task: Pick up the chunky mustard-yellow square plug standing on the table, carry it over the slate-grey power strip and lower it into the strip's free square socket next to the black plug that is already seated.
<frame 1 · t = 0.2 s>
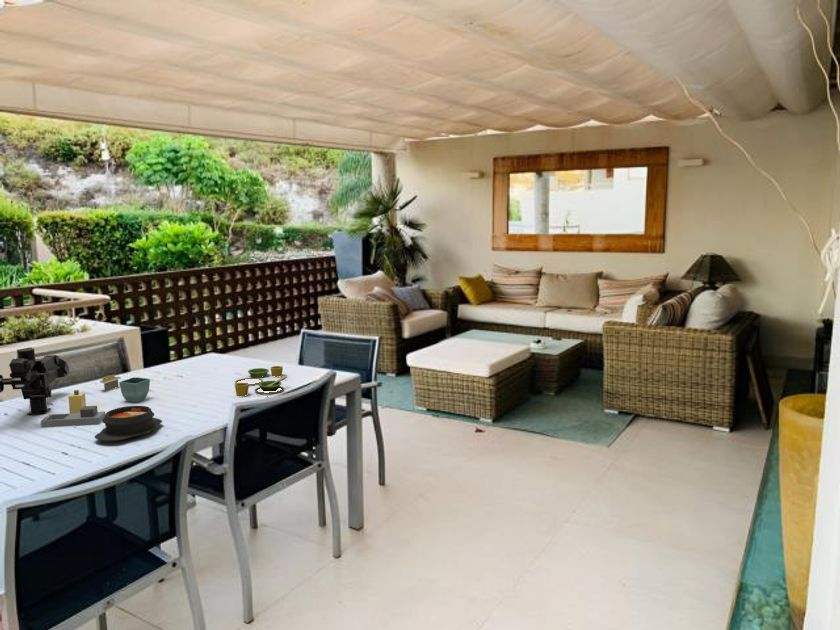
hand: (8, 389, 221), 16 cm above the table, tool horizontal, fingers open, 9 cm apart
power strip: (74, 422, 236), on the table
flower pot: (136, 401, 264), on the table
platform: (110, 390, 282), on the table
plug: (78, 413, 246), on the table
casserole: (130, 434, 224), on the table
tableware set: (261, 386, 289), on the table
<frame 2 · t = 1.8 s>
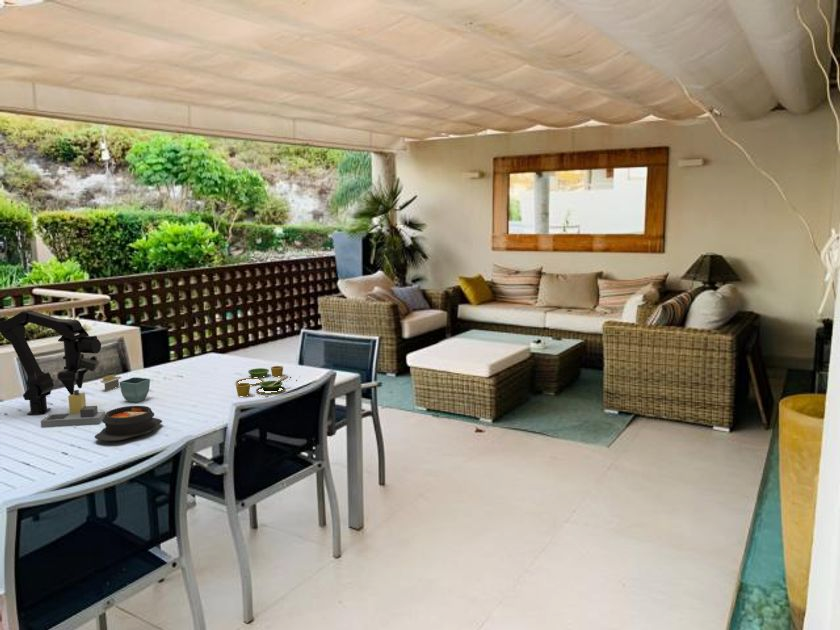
hand: (76, 391, 245), 9 cm above the table, tool pointing down, fingers open, 9 cm apart
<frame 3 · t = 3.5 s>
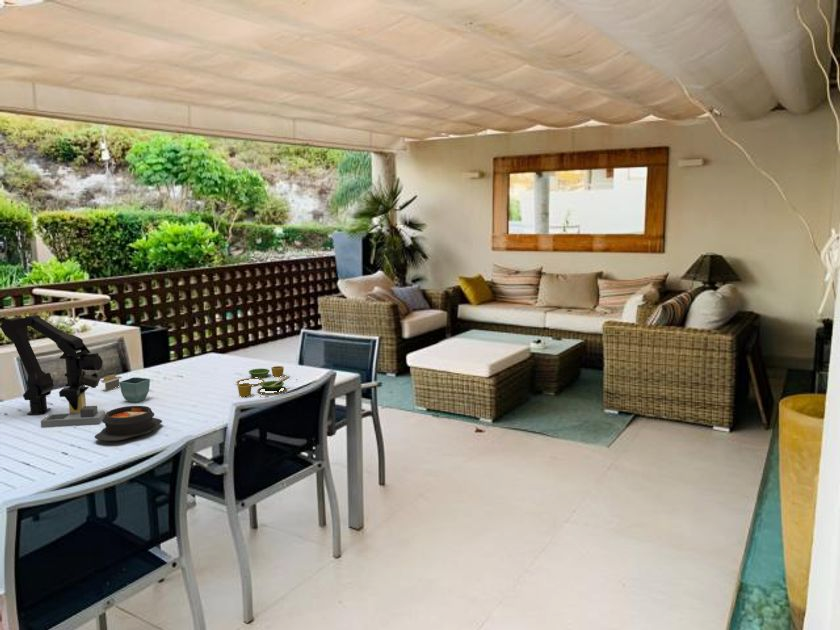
hand: (77, 407, 246), 2 cm above the table, tool pointing down, fingers closed on plug, 5 cm apart
plug: (78, 413, 246), on the table, touching gripper
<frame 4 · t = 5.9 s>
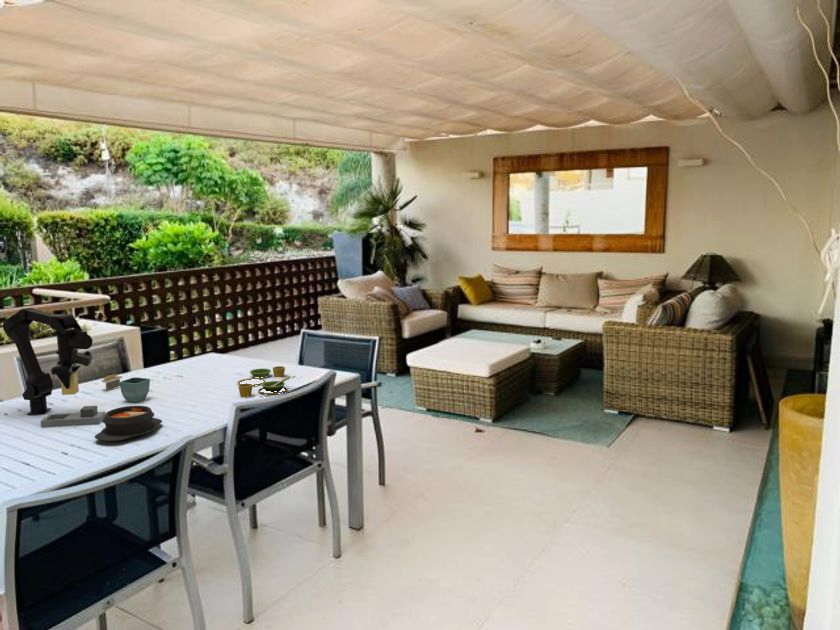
hand: (69, 386, 241), 12 cm above the table, tool pointing down, fingers closed on plug, 5 cm apart
plug: (70, 392, 241), point 10 cm above the table, touching gripper
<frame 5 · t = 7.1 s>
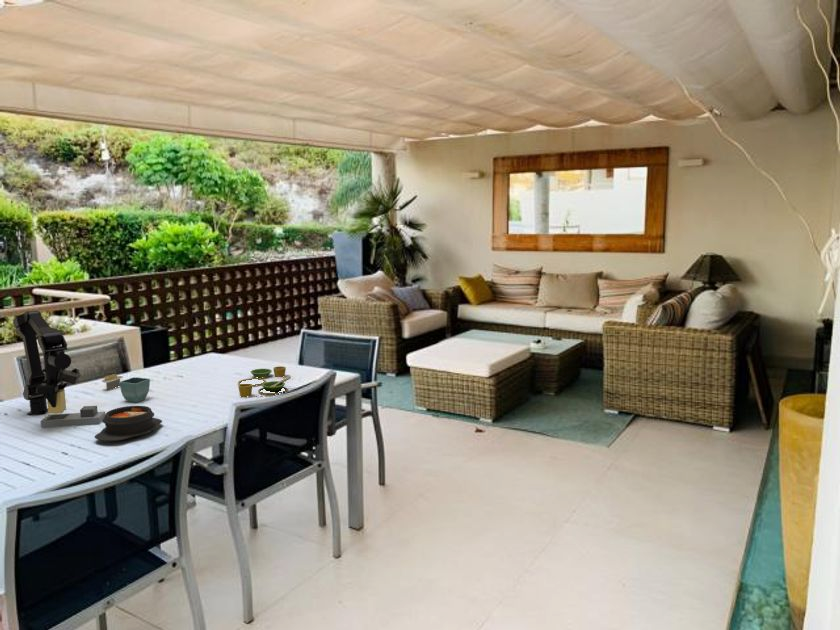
hand: (56, 405, 234), 7 cm above the table, tool pointing down, fingers closed on plug, 5 cm apart
plug: (57, 411, 234), point 5 cm above the table, touching gripper
when the fingers open (3 cm above the table, at t = 8.3 s): plug stays where it is, resting in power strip.
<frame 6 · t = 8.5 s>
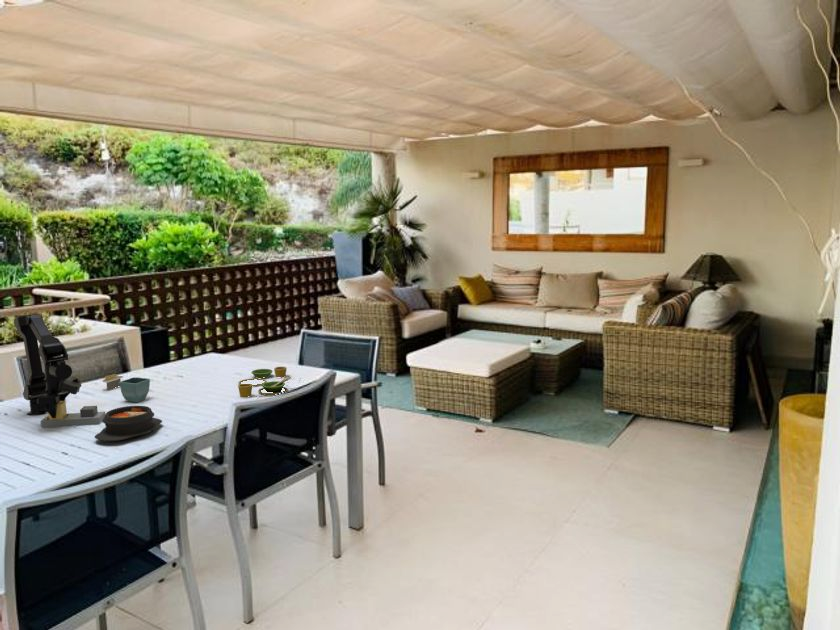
hand: (57, 415, 234), 3 cm above the table, tool pointing down, fingers open, 7 cm apart
plug: (58, 423, 235), resting in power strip
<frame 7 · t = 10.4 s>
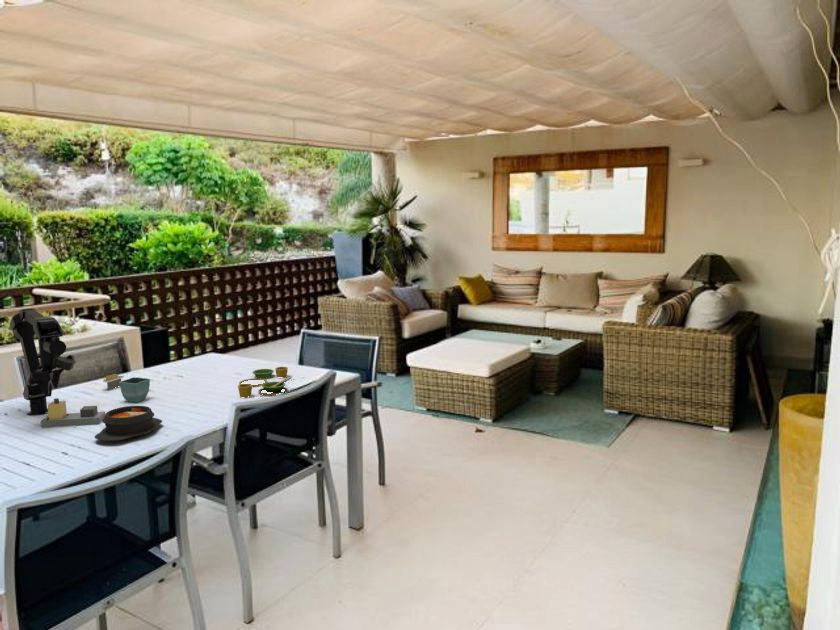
hand: (51, 391, 236), 12 cm above the table, tool pointing down, fingers open, 9 cm apart
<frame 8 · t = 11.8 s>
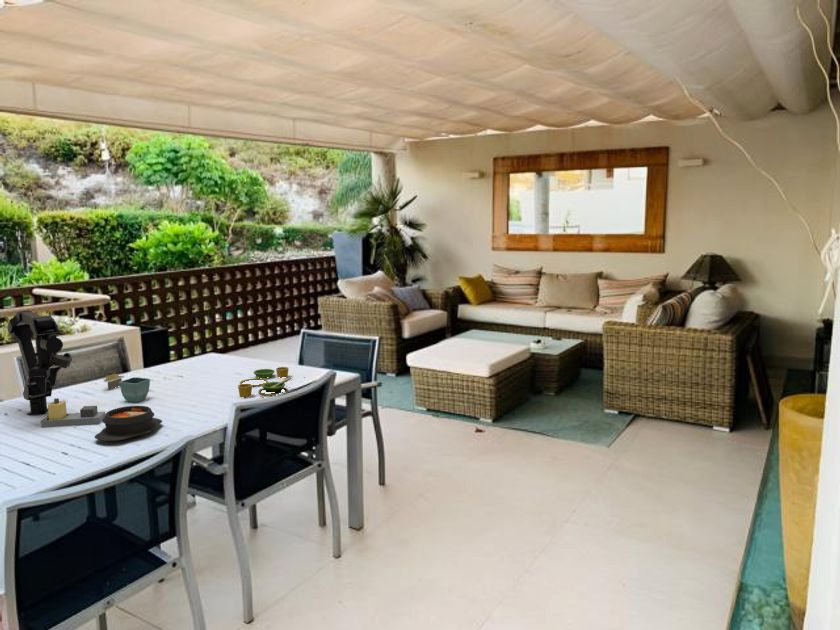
hand: (48, 388, 238), 12 cm above the table, tool pointing down, fingers open, 9 cm apart
at the end: plug 0.1 cm from the target spot on the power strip, point 0.0 cm above the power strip's base; plug tilted 0°; the gripper is holding nothing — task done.
